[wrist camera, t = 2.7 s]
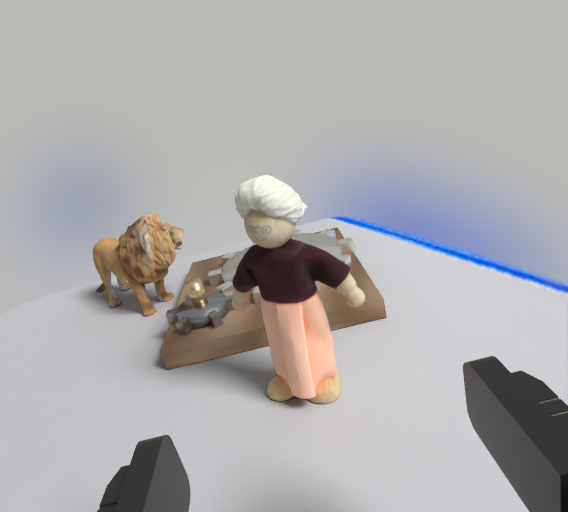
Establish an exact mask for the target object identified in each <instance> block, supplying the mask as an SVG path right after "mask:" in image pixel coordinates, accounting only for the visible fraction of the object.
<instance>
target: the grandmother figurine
mask: <svg viewBox="0 0 568 512" xmlns="http://www.w3.org/2000/svg"><path fill="white" fill-rule="evenodd" d="M235 203H236V206H237V208H236V209H237V211H238V213H240V215H241V217H242V218H243V219H244V222H245V223H244V224H245V229H246V232H247V234H248V236H249V237H250V239H251V240H252V241H253V242H254V243H255V244H256V245H253V246H252V247H250V248H249V249H248V251H247V252H246V253H245V255H244V256H243V257H242V259H241V261H240V262H239V265H238V267H237V270H236V273H235V275H234V278H233V280H232V283H233V296H234V298H233V300H232V306H233V308H234V309H235V310H237V311H244V310H246V309H247V308H248V307H249V304H250V300H249V297H250V295H251V289H252V288H254V287H257V286H258V288H259V291H260V294H261V310H262V315H263V320H264V324H265V328H266V332H267V336H268V341H269V347H270V352H271V357H272V361H273V365H274V369H275V372H276V373H277V374H278V375H276V376H275V377H274V378H273V379H272V380H271V381H270V382H269V384H268V387H267V395H268V397H269V398H271V399H273V400H276V401H284V400H288V399H290V398H292V397H293V396H295V397H298V398H302V399H309V400H310V401H311V402H313V403H324V404H326V403H330V402H333V401H335V400H336V399H337V398H338V397H339V396H340V394H341V375H340V373H339V372H338V371H337V366H336V361H335V354H334V346H333V339H332V334H331V331H330V327H329V323H328V319H327V315H326V312H325V309H324V306H323V302H322V299H321V297H320V294H319V291H318V289H317V286H316V284H315V281H319V282H321V283H323V284H325V285H327V286H329V287H331V288H334V289H336V290H337V291H338V292H339V293H340V294H342V295H343V296H344V298H345V301H346V303H347V304H348V305H349V306H351V307H359V306H361V305H362V304H363V303H364V301H365V294H364V292H363V291H362V290H361V289H359V288H358V287H357V285H356V281H355V280H354V278H353V277H352V275H351V274H350V272H349V271H350V269H351V267H349V266H348V265H347V264H345V263H344V262H342V261H340V260H339V259H337V258H336V257H334V256H333V255H331V254H330V253H328V252H327V251H324V250H322V249H320V248H318V247H315V246H312V245H309V244H306V243H304V242H302V241H298V240H294V239H291V237H292V236H293V234H294V231H295V228H296V223H297V222H298V221H299V219H300V217H301V216H302V215H303V214H304V210H305V209H306V208H308V207H307V206H306V205H305V204H304V203H302V201H301V199H300V196H299V195H298V194H297V193H295V192H294V190H293V189H292V188H291V187H290V186H288V185H287V184H284V183H283V182H282V181H279V180H277V179H276V178H274V177H272V176H268V175H264V176H260V177H257V178H253V179H251V180H249V181H246V182H244V183H242V184H241V185H240V187H239V188H238V190H237V192H236V194H235Z"/></svg>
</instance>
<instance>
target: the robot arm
mask: <svg viewBox="0 0 568 512" xmlns="http://www.w3.org/2000/svg"><path fill="white" fill-rule="evenodd" d="M463 374H464V383H465V393H466V402H467V410H468V414H469V417H470V420H471V423H472V425H473V427H474V429H475V431H476V433H477V434H478V436H479V437H480V439H481V440H482V442H483V443H484V445H485V446H486V448H487V449H488V451H489V452H490V454H491V455H492V457H493V458H494V460H495V461H496V463H497V464H498V466H499V467H500V469H501V470H502V472H503V473H504V474H505V476H506V477H507V479H508V480H509V482H510V483H511V485H512V486H513V488H514V489H515V491H516V492H517V494H518V495H519V497H520V498H521V500H522V501H523V503H524V504H525V506H526V507H527V509H528V510H529V512H568V406H567V405H566V404H565V403H564V402H563V401H562V400H561V399H560V400H559V398H558V396H557V395H556V394H555V393H554V392H553V391H552V390H551V389H550V388H549V387H548V386H547V385H546V384H545V383H544V382H543V381H541V380H539V379H537V378H535V377H533V376H531V375H529V374H527V373H525V372H523V371H518V372H514V373H510V372H509V371H508V370H507V369H506V367H505V366H504V365H503V364H502V363H501V362H500V361H499V360H498V359H497V358H496V357H494V356H490V357H486V358H482V359H478V360H474V361H470V362H466V363H464V365H463ZM189 505H190V485H189V479H188V476H187V473H186V471H185V469H184V467H183V464H182V462H181V460H180V457H179V455H178V453H177V451H176V448H175V446H174V444H173V441H172V439H171V438H170V436H168V435H164V436H160V437H156V438H151V439H147V440H143V441H140V442H139V443H138V444H137V446H136V448H135V451H134V454H133V457H132V460H131V463H130V465H128V466H124V467H121V468H120V469H119V471H118V472H117V473H116V475H115V476H114V477H113V479H112V480H111V481H110V483H109V484H108V485H107V488H106V490H105V493H104V495H103V498H102V501H101V503H100V510H98V511H97V512H188V511H189Z"/></svg>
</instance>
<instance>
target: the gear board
mask: <svg viewBox="0 0 568 512" xmlns="http://www.w3.org/2000/svg"><path fill="white" fill-rule="evenodd" d="M330 230H335V235H336V239H337V240H341V239H344V237H343V236H342V234H341V233H340V231H339V229H338V228H333V229H330ZM321 232H322V231H321ZM318 233H320V232H317V233H316V234H318ZM239 252H241V251H239ZM239 252H235V253H239ZM342 255H350V258H351V263H352V267H351V269H350V271H349V272H350V274H351V275H352V277H353V278H354V280H355V281H356V285H357V287H358V288H359V289H361V290H362V291H363V292H364V294H365V301H364V303H363V304H362V305H361V306H359V307H351V306H349V305H348V304H347V303H346V301H345V298H344V296H343V295H342V294H340V293H339V292H338V291H337V290H336V289H334V288H331V287H329V286H327V285H325V284H323V283H321V282H319V285H320V289H318V291H319V294H320V297H321V299H322V302H323V306H324V309H325V312H326V315H327V319H328V323H329V327H330V331H331V330H335V329H340V328H344V327H348V326H352V325H356V324H360V323H365V322H369V321H373V320H377V319H381V318H385V317H386V311H385V305H384V299H383V297H382V296H381V294H380V293H379V291H378V289H377V288H376V286H375V285H374V283H373V282H372V280H371V279H370V277H369V276H368V274H367V273H366V271H365V269H364V268H363V266H362V265H361V263H360V262H359V260H358V259H357V257H356V256H355V254H354V253H353V252H350V253H346V254H342ZM223 256H225V255H222V256H218V257H214V258H210V259H206V260H202V261H198V262H194V263H192V265H191V268H190V270H189V273H188V276H187V279H186V281H185V283H186V282H187V281H189V280H191V279H194V278H200V279H201V281H202V284H203V287H204V290H205V293H207V292H212V291H213V290H214V289H215V288H216V287H218V286H220V285H222V284H224V283H222V284H218V285H214V286H211V284H210V281H209V278H208V274H209V272H210V271H214V270H218V269H222V267H223V266H224V265H223V262H222V257H223ZM187 295H189V293H188V290H187V287H186V284H184V287H183V290H182V293H181V295H180V298H179V301H178V304H177V306H176V308H178V306H179V305H180V304H182V303H183V302H184V301H186V300H185V296H187ZM249 300H250V304H249V307H248V308H247V309H246V310H244V311H237V310H233V311H229V312H228V314H227V315H226V316H225V317H224V318H223V319H222V321H223V324H224V325H222V326H220V327H218V328H216V329H215V328H213V327H212V326H208V327H205V328H201V329H196V330H192V331H191V332H190V333H189V334H188V335H187V336H183V335H179V333H178V330H177V327H176V325H171V326H169V328H168V331H167V334H166V337H165V339H164V342H163V345H162V348H161V351H160V354H161V357H162V359H163V362H164V364H165V367H166V369H167V370H168V369H173V368H177V367H181V366H185V365H189V364H193V363H198V362H202V361H206V360H210V359H214V358H219V357H223V356H227V355H231V354H235V353H239V352H244V351H248V350H252V349H256V348H260V347H264V346H269V341H268V336H267V332H266V328H265V324H264V320H263V315H262V310H261V304H255V301H254V297H253V296H250V297H249Z"/></svg>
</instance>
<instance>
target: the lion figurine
mask: <svg viewBox="0 0 568 512" xmlns="http://www.w3.org/2000/svg"><path fill="white" fill-rule="evenodd" d="M183 237H184V236H183V229H181V228H177V227H173V226H170V225H169V224H167V223H164V222H163V221H161V218H160V216H159V214H148V215H146V216H142V217H141V218H140V219H138V220H137V221H135V223H133V224H132V225H131V226H129V227H128V229H127V231H126V232H125V233H124V234H122V235H121V236H120V238H119V241H118V240H117V239H115V238H104V239H100V240H99V242H98V243H96V245H95V246H94V248H93V258H94V263H95V266H96V269H97V271H98V272H99V275H100V276H101V279H102V281H103V284H102V285H101V286H100V287H99V288H98V289H97V290H96V292H99V293H101V292H103V291H104V290H106V293H107V295H108V299H109V307H111V308H112V307H115V306H117V305H119V304H120V300H119V299H118V298H117V297H116V295H115V292H114V288H113V286H112V284H111V271H112V272H113V273H114V274H115V276H116V277H117V281H118V285H119V287H120V289H121V290H127V289H129V288H132V290H133V292H134V294H135V296H136V298H137V299H138V301H139V303H140V305H141V308H142V311H143V315H144V316H150V315H153V314H154V313H155V312H156V311H157V310H156V309H155V308H154V305H153V303H152V302H151V301H150V300H149V298H148V296H147V294H146V290H145V284H146V283H147V284H149V283H152V282H154V284H155V288H156V293H157V296H158V298H159V299H160V300H161V301H164V302H165V301H170V300H172V298H173V296H174V295H173V293H171V292H170V293H167V292H166V291H165V289H164V277H165V276H166V275H167V273H168V267H169V266H170V265H171V264H172V263H173V261H174V260H175V257H176V252H175V249H182V242H181V241H182V240H183ZM126 281H128V282H129V283H128V282H126Z"/></svg>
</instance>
